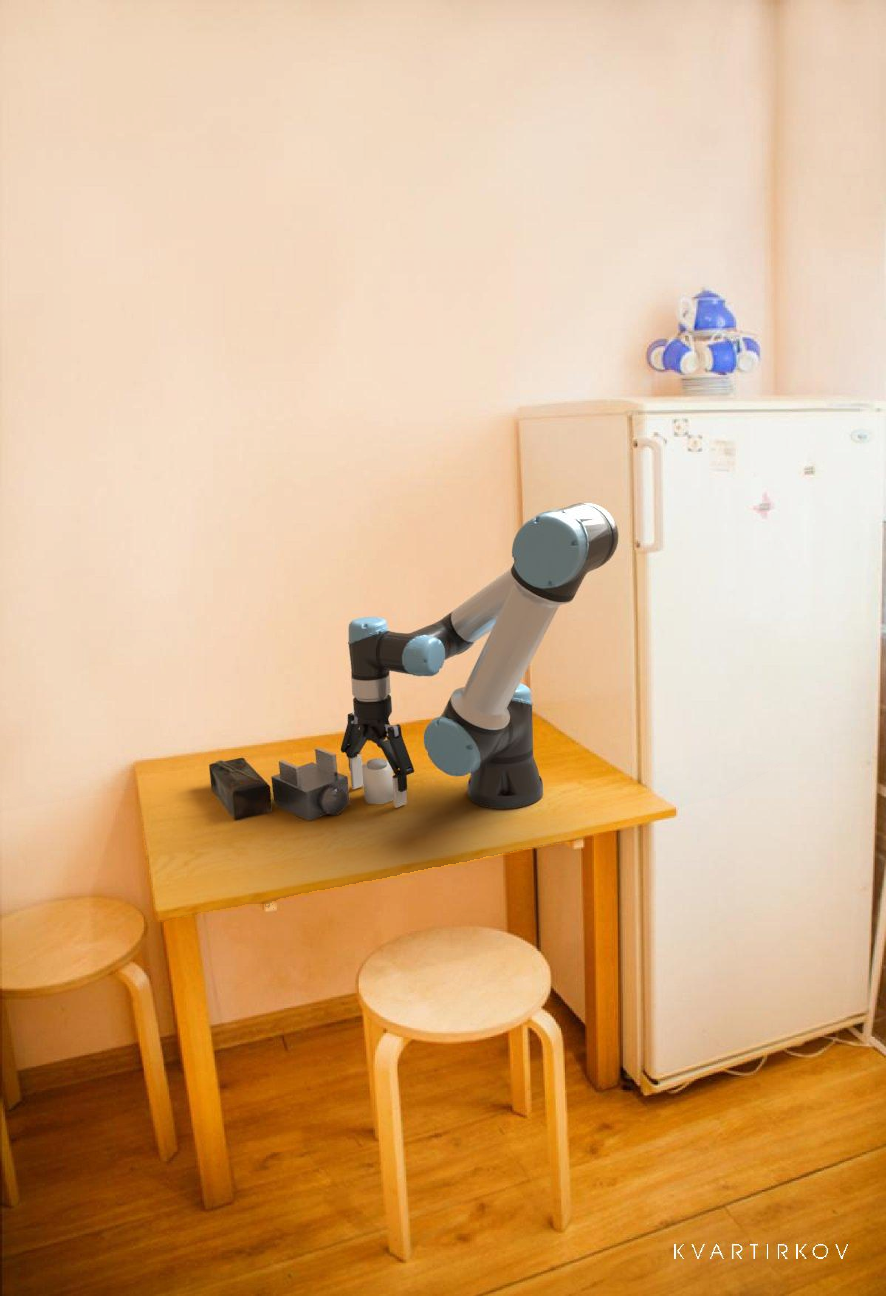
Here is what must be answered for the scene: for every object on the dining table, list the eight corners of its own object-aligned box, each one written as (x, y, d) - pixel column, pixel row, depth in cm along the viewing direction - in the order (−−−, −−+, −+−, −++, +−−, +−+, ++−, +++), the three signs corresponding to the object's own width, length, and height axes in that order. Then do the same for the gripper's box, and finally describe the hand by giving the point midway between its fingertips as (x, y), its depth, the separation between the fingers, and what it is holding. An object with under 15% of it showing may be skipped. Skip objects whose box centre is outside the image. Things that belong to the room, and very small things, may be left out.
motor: (357, 807, 195) (353, 760, 193) (316, 824, 189) (311, 776, 186) (314, 789, 206) (310, 744, 203) (274, 804, 199) (269, 758, 196)
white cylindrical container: (400, 797, 199) (397, 761, 197) (377, 807, 195) (374, 770, 193) (381, 789, 204) (378, 754, 201) (358, 798, 200) (355, 762, 197)
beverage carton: (247, 781, 212) (244, 753, 210) (274, 813, 195) (271, 783, 194) (210, 789, 209) (207, 760, 207) (235, 823, 192) (231, 792, 190)
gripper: (428, 704, 187) (434, 807, 193) (348, 679, 205) (355, 774, 211) (398, 714, 182) (405, 819, 188) (318, 688, 200) (326, 785, 206)
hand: (378, 796), depth 199 cm, fingers open, 13 cm apart
